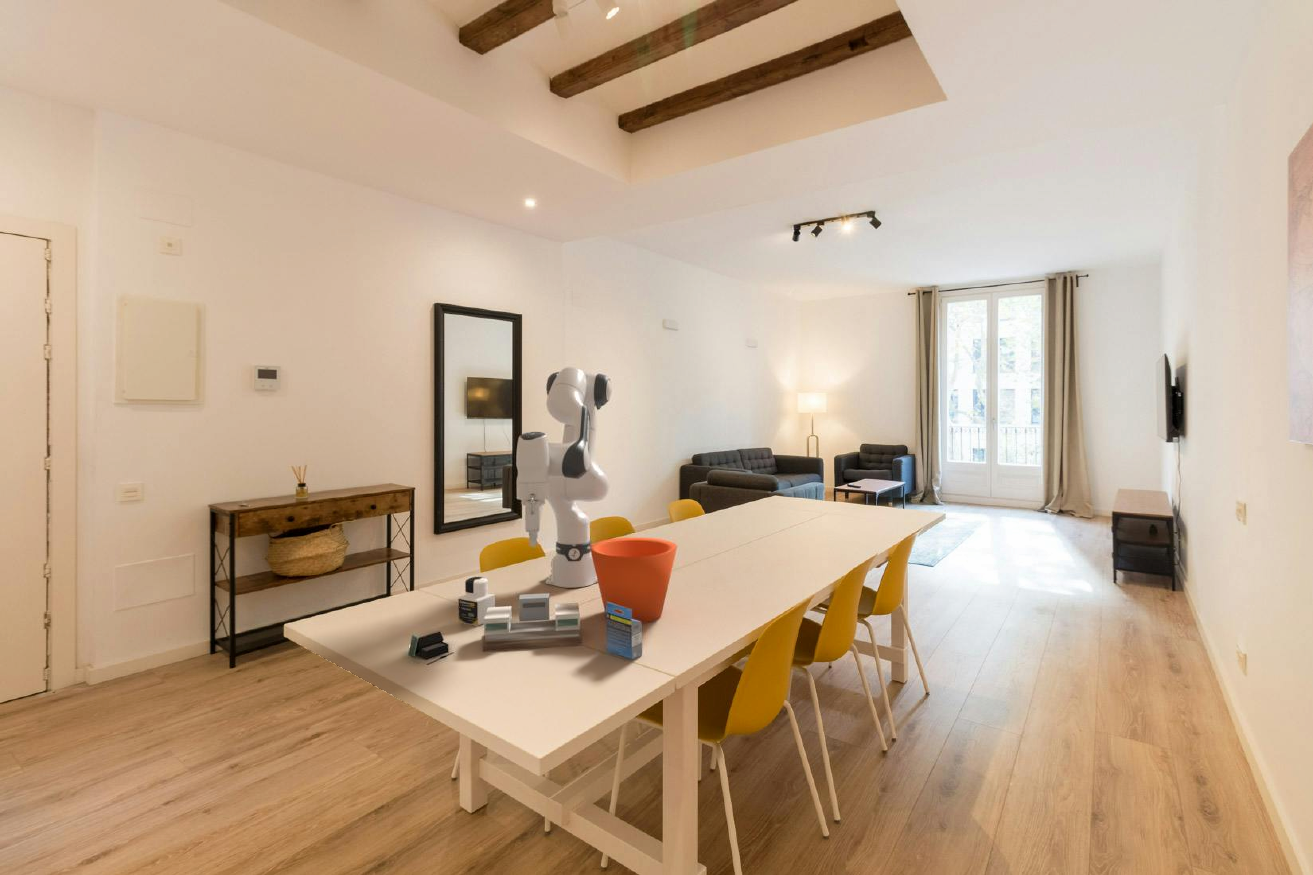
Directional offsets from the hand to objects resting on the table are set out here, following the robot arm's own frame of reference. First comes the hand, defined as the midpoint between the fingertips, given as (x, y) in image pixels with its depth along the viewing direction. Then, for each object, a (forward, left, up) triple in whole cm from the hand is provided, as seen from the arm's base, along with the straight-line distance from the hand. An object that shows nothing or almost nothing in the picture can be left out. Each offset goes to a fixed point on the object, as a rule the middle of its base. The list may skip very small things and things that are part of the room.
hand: (533, 542), depth 169 cm
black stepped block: (+16, -24, -24) cm, 37 cm away
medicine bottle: (-6, -16, -23) cm, 29 cm away
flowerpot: (-4, +28, -23) cm, 36 cm away
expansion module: (0, 0, -23) cm, 23 cm away
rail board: (+11, 0, -23) cm, 25 cm away
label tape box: (+24, +22, -23) cm, 40 cm away
